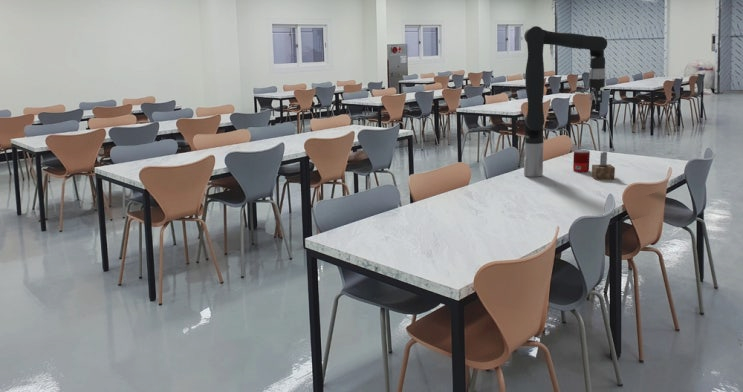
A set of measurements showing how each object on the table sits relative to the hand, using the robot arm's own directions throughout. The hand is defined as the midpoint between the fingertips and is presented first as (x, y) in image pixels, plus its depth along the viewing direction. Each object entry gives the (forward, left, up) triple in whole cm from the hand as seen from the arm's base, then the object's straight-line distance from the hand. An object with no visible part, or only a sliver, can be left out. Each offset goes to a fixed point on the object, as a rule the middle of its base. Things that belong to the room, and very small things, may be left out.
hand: (595, 110), depth 327 cm
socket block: (+3, -8, -33) cm, 34 cm away
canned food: (-4, +10, -33) cm, 35 cm away
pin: (+3, -9, -32) cm, 33 cm away
